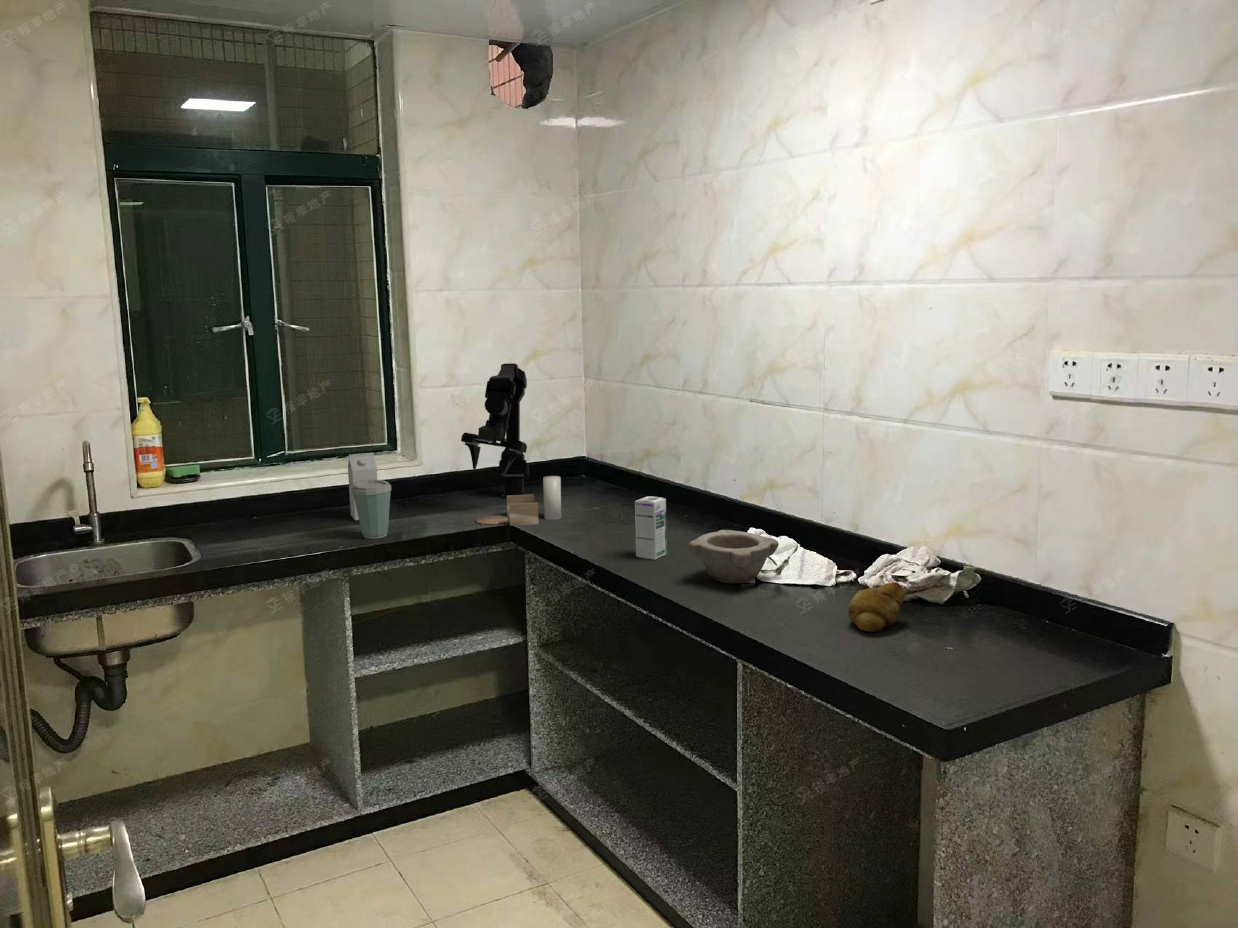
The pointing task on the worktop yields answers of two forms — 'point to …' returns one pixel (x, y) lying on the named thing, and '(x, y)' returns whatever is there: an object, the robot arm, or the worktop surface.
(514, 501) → the wall
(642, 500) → the syrup box
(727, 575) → the mortar
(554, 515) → the white cylinder
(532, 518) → the outer gate wall
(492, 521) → the pad
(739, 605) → the worktop surface
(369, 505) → the disposable coffee cup
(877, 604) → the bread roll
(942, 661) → the worktop surface
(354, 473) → the milk carton
